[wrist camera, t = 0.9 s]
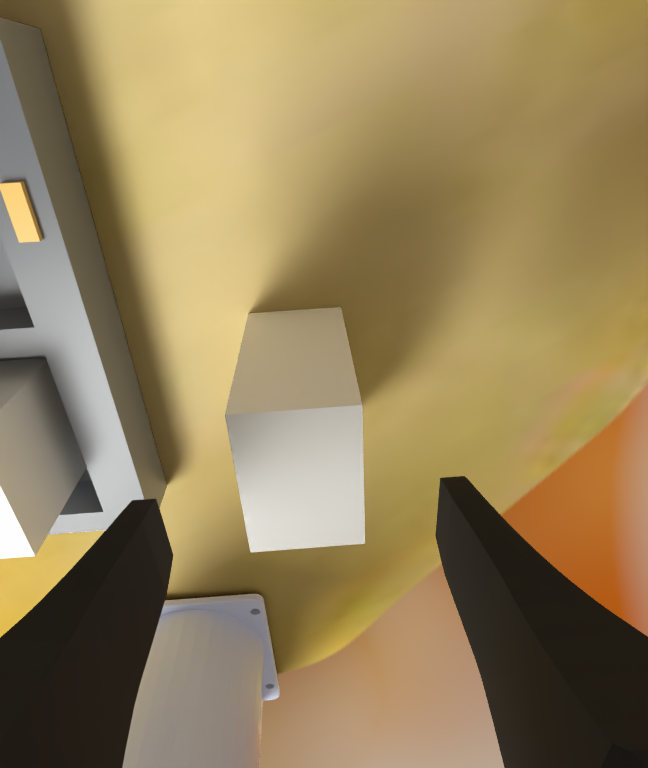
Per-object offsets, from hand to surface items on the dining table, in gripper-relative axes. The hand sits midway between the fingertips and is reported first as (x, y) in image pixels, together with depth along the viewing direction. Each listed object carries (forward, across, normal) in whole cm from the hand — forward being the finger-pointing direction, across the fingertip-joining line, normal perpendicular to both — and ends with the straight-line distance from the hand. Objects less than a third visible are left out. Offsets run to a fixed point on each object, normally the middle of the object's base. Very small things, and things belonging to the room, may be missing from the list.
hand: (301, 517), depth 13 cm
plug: (+8, 0, 0) cm, 8 cm away
